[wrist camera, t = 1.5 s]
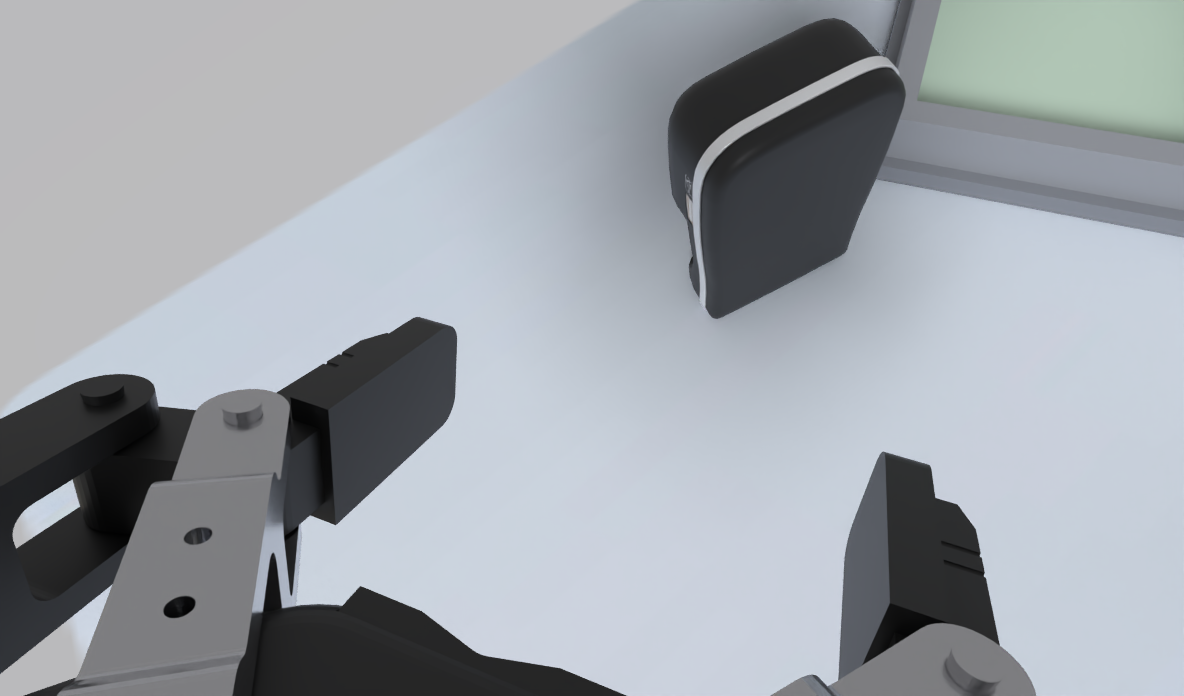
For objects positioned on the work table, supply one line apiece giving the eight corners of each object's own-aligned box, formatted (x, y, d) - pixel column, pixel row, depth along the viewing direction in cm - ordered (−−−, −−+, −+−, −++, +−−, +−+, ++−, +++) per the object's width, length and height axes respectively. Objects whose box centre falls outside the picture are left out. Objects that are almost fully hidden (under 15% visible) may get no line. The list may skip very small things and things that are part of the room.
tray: (1240, -23, 31) (1301, -96, 28) (1216, 243, 27) (1283, 195, 24) (915, -57, 35) (936, -125, 32) (853, 174, 31) (870, 124, 28)
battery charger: (804, 188, 31) (852, -26, 21) (852, 253, 30) (931, 60, 19) (667, 259, 31) (644, 81, 20) (709, 327, 30) (708, 174, 19)
